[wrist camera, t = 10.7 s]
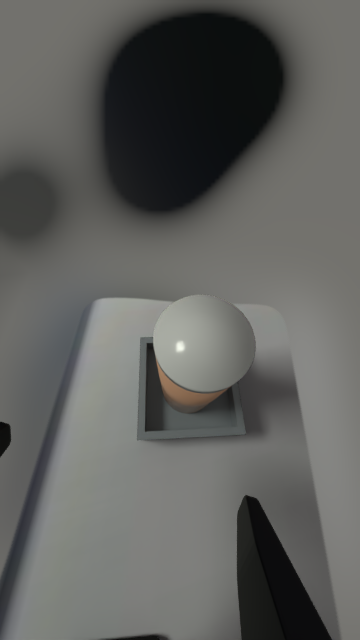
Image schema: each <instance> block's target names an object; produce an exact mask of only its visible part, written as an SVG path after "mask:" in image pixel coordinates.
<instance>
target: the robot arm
mask: <svg viewBox="0 0 360 640" xmlns="http://www.w3.org/2000/svg"><path fill="white" fill-rule="evenodd" d="M10 442H11V429H10V425H9V424H7V423H4V422H0V457H1V456H2V454H3V453H4V452H5V450H6V449H7V448H8V446H9V445H10ZM237 584H238V598H239V611H240V624H241V637H242V640H332V639H331V637H330V635H329V633H328V631H327V629H326V627H325V626H324V624H323V622H322V620H321V618H320V616H319V614H318V612H317V610H316V609H315V607H314V605H313V603H312V601H311V599H310V597H309V595H308V593H307V592H306V590H305V588H304V586H303V584H302V582H301V580H300V578H299V576H298V575H297V573H296V571H295V569H294V567H293V565H292V563H291V561H290V559H289V557H288V556H287V554H286V552H285V550H284V548H283V546H282V544H281V542H280V540H279V539H278V537H277V535H276V533H275V531H274V529H273V527H272V525H271V523H270V522H269V520H268V518H267V516H266V514H265V512H264V510H263V508H262V506H261V505H260V503H259V501H258V500H257V499H256V498H254V497H251V496H248V495H246V496H244V498H243V500H242V503H241V505H240V507H239V510H238V515H237ZM120 640H159V638H158V637H156V636H149V637H139V638H129V639H120Z"/></svg>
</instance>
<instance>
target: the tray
mask: <svg viewBox="0 0 360 640" xmlns="http://www.w3.org/2000/svg"><path fill="white" fill-rule="evenodd" d="M245 434H246V431H245V425H244V418H243V412H242V406H241V399H240V393H239V387H238V381H237V382H236V383H235V384H233V385H232V386H231V387H230V388H228V389H227V390H226V391H225V392H223V393H222V394H221V395H220V396H218V397H217V398H216V399H214V400H213V401H212V402H211V403H209V404H208V405H207V406H206V407H204V408H203V409H202V410H200V411H198V412H195V413H190V414H186V413H181V412H178V411H176V410H174V409H173V408H172V407H170V406H169V405H168V403H167V402H166V400H165V398H164V396H163V392H162V387H161V382H160V377H159V372H158V367H157V361H156V356H155V351H154V345H153V337H141V339H140V369H139V399H138V429H137V440H153V439H171V438H190V437H208V436H227V435H245Z"/></svg>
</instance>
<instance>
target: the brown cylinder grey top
mask: <svg viewBox="0 0 360 640" xmlns="http://www.w3.org/2000/svg"><path fill="white" fill-rule="evenodd" d="M153 345H154V351H155V356H156V361H157V367H158V372H159V377H160V382H161V387H162V392H163V396H164V398H165V400H166V402H167V403H168V405H169V406H170V407H172V408H173V409H174V410H176V411H178V412H181V413H186V414H190V413H195V412H198V411H200V410H202V409H203V408H204V407H206V406H207V405H208V404H209V403H211V402H212V401H213V400H214V399H216V398H217V397H218V396H220V395H221V394H222V393H223V392H225V391H226V390H227V389H228V388H230V387H231V386H232V385H233V384H235V383H236V382H237V381H238V380H240V379H241V378H242V377H243V376H244V375H245V374H246V373H247V371H248V370H249V368H250V366H251V364H252V362H253V359H254V356H255V349H256V342H255V336H254V332H253V329H252V327H251V325H250V323H249V321H248V320H247V318H246V317H245V315H244V314H243V313H242V312H241V311H240V310H239V309H238V308H237V307H235V306H234V305H233V304H231V303H229V302H228V301H225V300H223V299H221V298H218V297H214V296H209V295H193V296H188V297H185V298H182V299H180V300H178V301H176V302H174V303H172V304H171V305H170V306H169V307H167V308H166V309H165V310H164V312H163V313H162V314H161V316H160V317H159V319H158V321H157V323H156V326H155V329H154V334H153Z"/></svg>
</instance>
